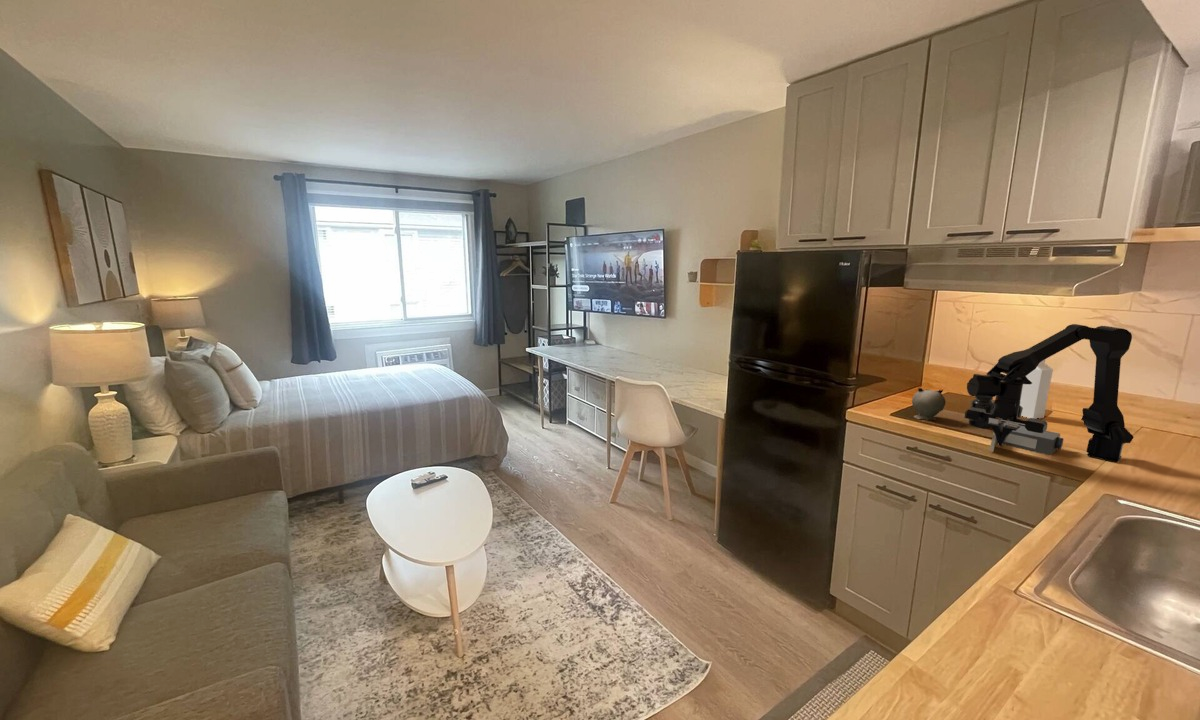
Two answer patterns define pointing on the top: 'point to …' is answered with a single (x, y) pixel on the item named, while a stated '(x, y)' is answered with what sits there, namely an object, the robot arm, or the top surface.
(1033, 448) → the grey rectangular box
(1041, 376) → the milk
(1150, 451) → the top surface
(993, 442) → the side door
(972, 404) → the supplement bottle
